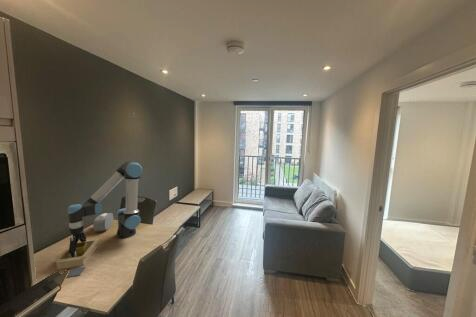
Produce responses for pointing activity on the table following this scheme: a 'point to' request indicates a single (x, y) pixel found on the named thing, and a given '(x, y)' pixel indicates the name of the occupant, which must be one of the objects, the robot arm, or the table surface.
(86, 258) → the wooden tray
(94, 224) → the alarm clock
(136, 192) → the robot arm
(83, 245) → the flower pot
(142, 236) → the table surface
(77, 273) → the mat
